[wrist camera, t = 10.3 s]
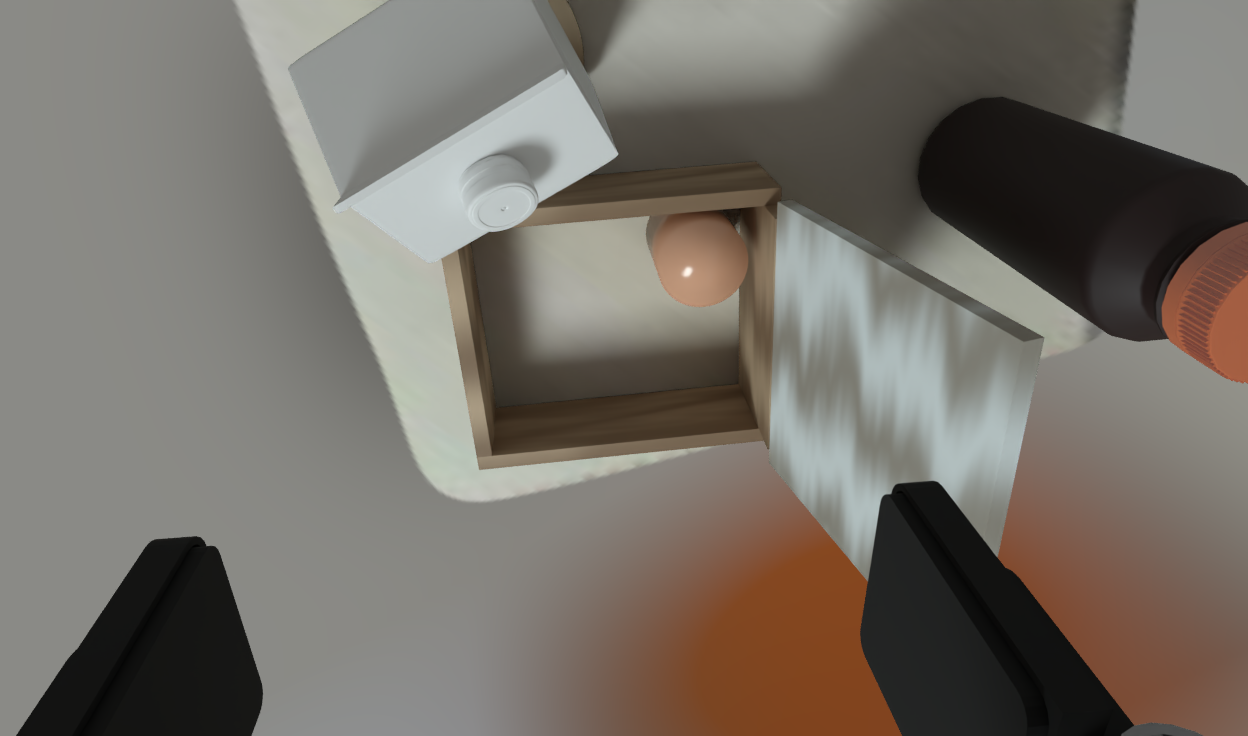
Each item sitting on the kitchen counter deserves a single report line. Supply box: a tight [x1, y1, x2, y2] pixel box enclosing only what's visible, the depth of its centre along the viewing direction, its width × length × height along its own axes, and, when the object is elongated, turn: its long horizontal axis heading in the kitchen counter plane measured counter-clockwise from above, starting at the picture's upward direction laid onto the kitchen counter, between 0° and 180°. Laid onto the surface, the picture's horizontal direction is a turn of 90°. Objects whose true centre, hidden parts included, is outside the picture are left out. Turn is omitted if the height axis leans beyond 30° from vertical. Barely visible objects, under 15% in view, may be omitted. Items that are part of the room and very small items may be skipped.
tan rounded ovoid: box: [646, 210, 748, 307], centre depth 41 cm, size 4×4×5 cm
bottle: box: [918, 97, 1248, 383], centre depth 34 cm, size 7×7×20 cm
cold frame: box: [442, 162, 1044, 581], centre depth 35 cm, size 14×19×22 cm
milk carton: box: [288, 0, 618, 263], centre depth 29 cm, size 7×7×19 cm
